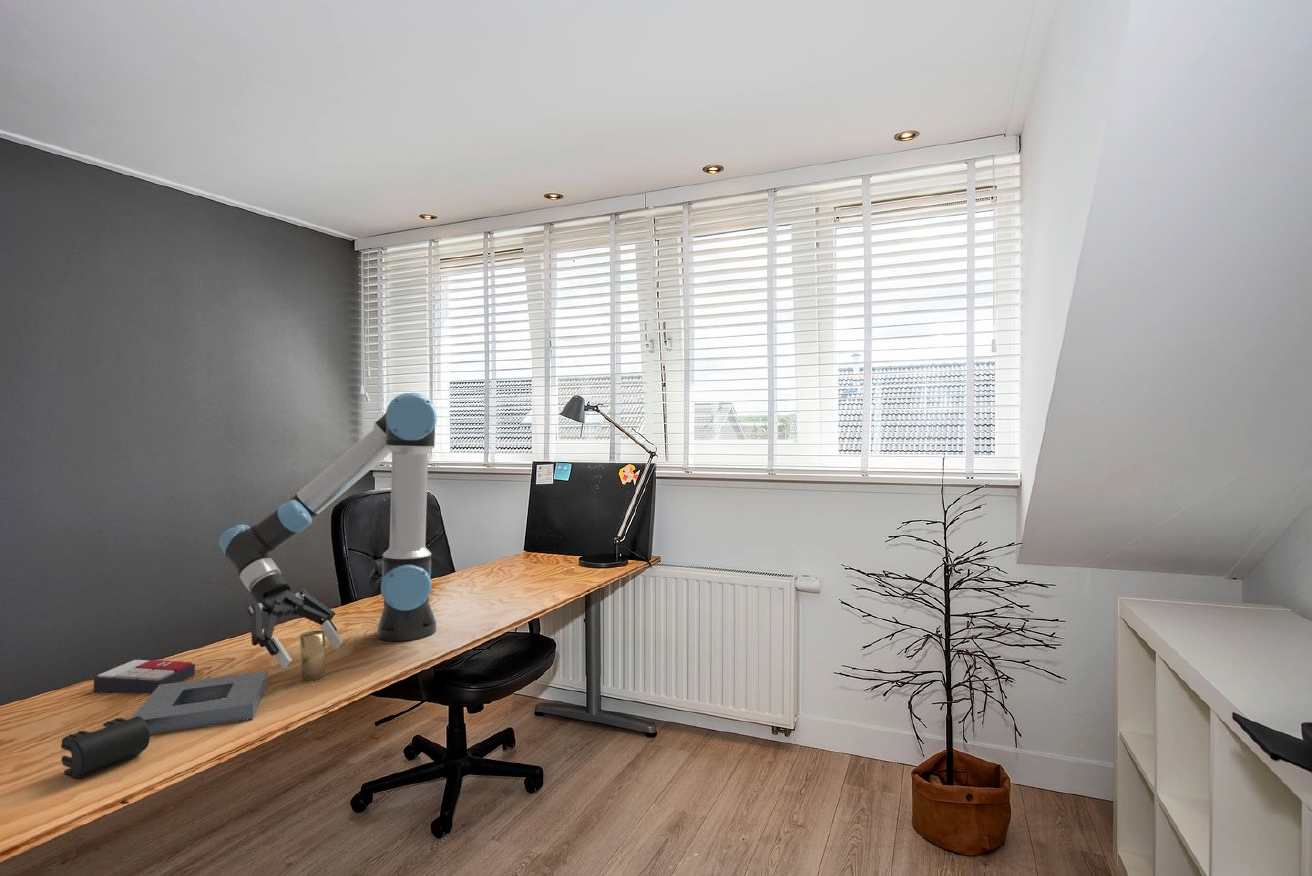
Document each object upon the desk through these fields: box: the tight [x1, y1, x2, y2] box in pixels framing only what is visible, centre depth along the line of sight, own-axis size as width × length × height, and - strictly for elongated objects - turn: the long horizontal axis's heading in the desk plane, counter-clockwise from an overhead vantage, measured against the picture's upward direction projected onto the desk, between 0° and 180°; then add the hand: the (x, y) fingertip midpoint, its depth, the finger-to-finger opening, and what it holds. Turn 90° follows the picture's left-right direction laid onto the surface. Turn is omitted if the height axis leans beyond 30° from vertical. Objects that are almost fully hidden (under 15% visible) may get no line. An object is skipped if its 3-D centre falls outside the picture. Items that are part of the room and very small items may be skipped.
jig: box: [131, 670, 269, 736], centre depth 140 cm, size 20×20×3 cm
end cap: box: [60, 716, 151, 780], centre depth 116 cm, size 10×7×7 cm
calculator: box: [93, 659, 196, 694], centre depth 154 cm, size 11×4×15 cm
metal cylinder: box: [299, 630, 327, 683], centre depth 156 cm, size 5×5×10 cm
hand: (314, 654), depth 155 cm, fingers open, 13 cm apart
